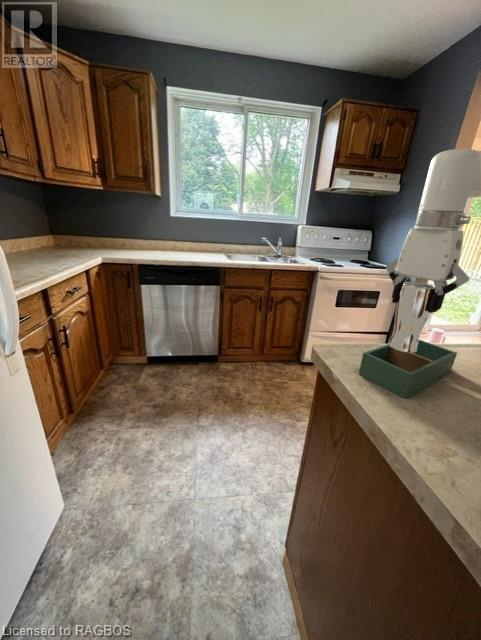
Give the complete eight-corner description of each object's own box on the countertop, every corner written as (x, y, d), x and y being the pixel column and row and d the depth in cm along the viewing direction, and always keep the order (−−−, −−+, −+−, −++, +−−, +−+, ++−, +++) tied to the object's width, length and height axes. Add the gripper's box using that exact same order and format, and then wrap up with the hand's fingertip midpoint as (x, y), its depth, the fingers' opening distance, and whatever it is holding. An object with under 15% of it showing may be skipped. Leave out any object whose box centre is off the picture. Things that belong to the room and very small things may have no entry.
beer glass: (400, 339, 68) (416, 281, 63) (426, 352, 62) (446, 288, 57) (379, 342, 66) (394, 282, 61) (404, 355, 60) (423, 289, 54)
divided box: (405, 354, 80) (410, 336, 78) (450, 373, 71) (457, 352, 69) (358, 373, 68) (363, 352, 66) (404, 398, 59) (412, 375, 57)
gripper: (499, 224, 49) (466, 316, 56) (403, 221, 63) (385, 295, 69) (484, 223, 46) (450, 321, 52) (385, 220, 59) (368, 298, 65)
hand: (413, 306), depth 60 cm, fingers closed on beer glass, 7 cm apart
